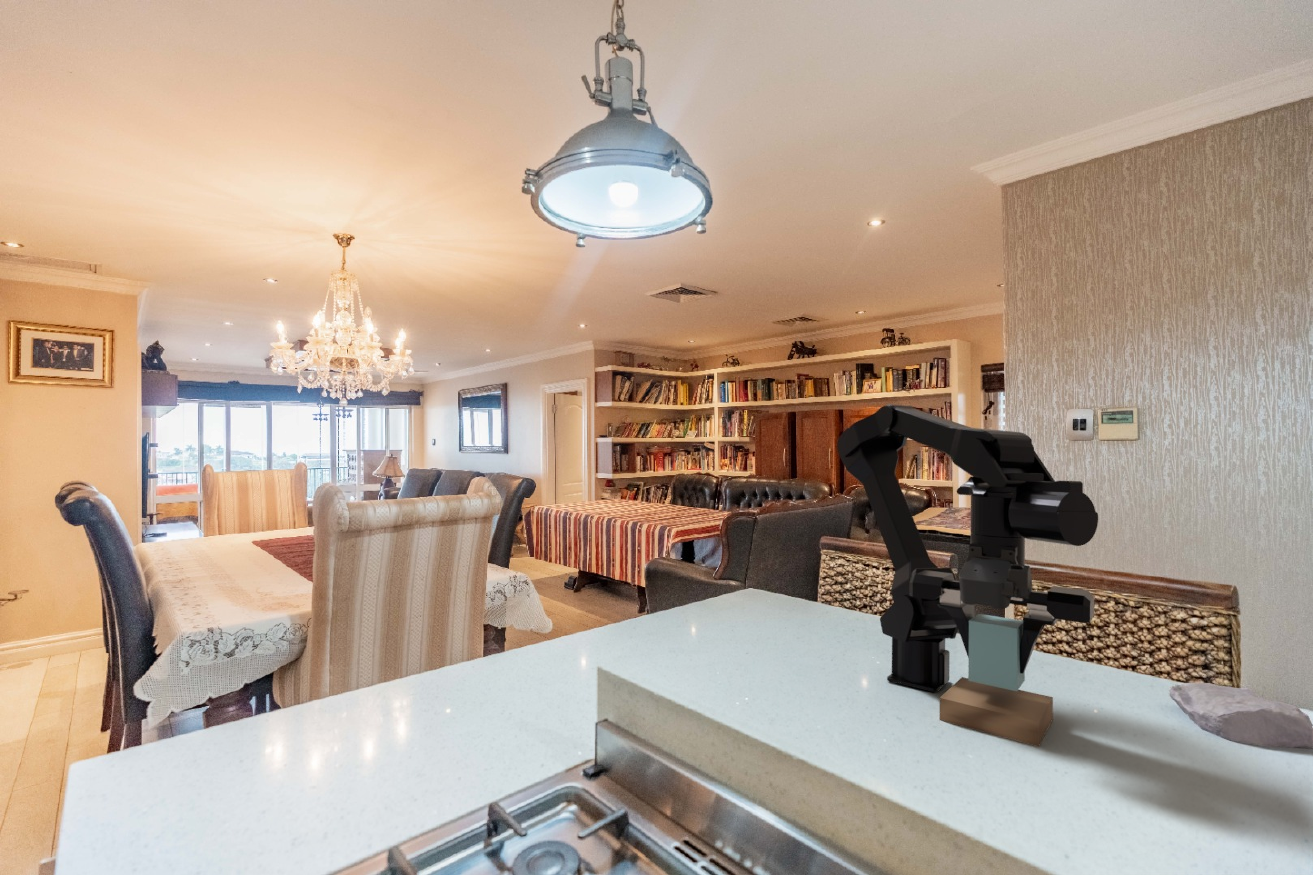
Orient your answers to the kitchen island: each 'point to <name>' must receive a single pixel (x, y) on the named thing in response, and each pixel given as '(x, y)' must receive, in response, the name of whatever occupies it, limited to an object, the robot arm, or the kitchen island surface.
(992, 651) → the teal block
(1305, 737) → the stone block
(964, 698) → the walnut base block
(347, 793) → the kitchen island surface
